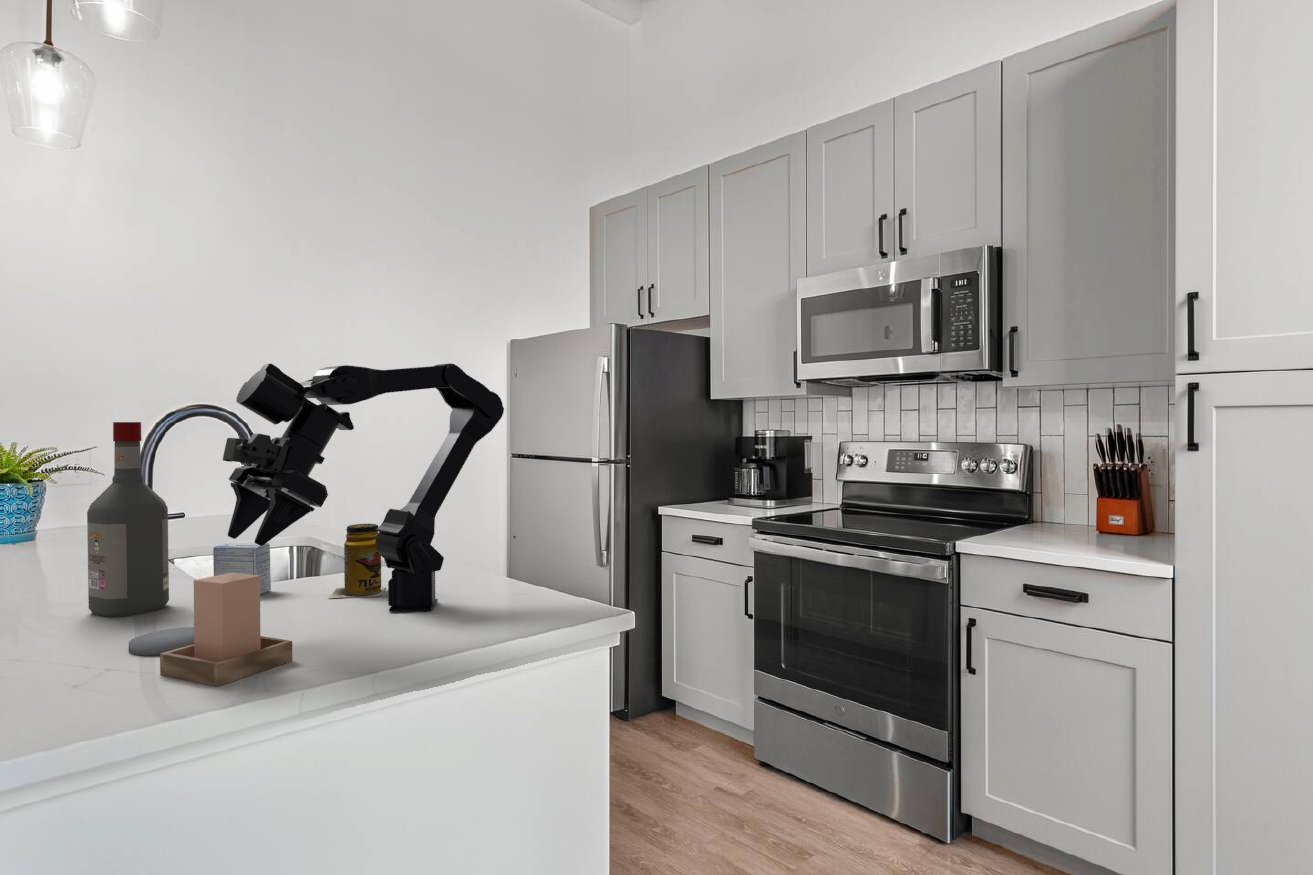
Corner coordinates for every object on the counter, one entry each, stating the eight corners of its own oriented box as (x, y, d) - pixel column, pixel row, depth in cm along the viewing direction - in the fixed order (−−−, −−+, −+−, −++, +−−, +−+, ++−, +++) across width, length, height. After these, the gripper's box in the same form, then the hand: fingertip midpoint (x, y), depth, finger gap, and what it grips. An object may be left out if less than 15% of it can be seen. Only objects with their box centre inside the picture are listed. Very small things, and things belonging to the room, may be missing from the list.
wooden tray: (237, 651, 98) (236, 632, 98) (292, 660, 94) (292, 640, 94) (160, 674, 89) (159, 653, 89) (217, 686, 85) (217, 664, 85)
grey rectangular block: (271, 591, 134) (271, 542, 133) (255, 597, 129) (255, 546, 129) (230, 590, 134) (229, 542, 134) (212, 596, 130) (212, 546, 130)
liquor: (113, 619, 114) (110, 422, 114) (82, 612, 118) (79, 422, 118) (175, 606, 122) (173, 422, 122) (144, 600, 127) (141, 422, 126)
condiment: (380, 596, 129) (380, 527, 129) (327, 599, 127) (327, 528, 127) (386, 587, 136) (385, 521, 136) (336, 590, 135) (335, 523, 134)
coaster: (229, 632, 107) (229, 625, 107) (194, 654, 97) (194, 646, 97) (154, 634, 106) (154, 627, 106) (111, 656, 96) (111, 649, 96)
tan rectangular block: (232, 659, 95) (231, 572, 95) (260, 664, 93) (259, 575, 93) (194, 671, 90) (193, 580, 90) (223, 676, 88) (222, 583, 88)
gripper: (226, 412, 109) (162, 509, 103) (282, 410, 96) (213, 520, 91) (294, 451, 116) (238, 543, 110) (353, 454, 104) (294, 558, 98)
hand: (244, 540), depth 102 cm, fingers open, 9 cm apart
